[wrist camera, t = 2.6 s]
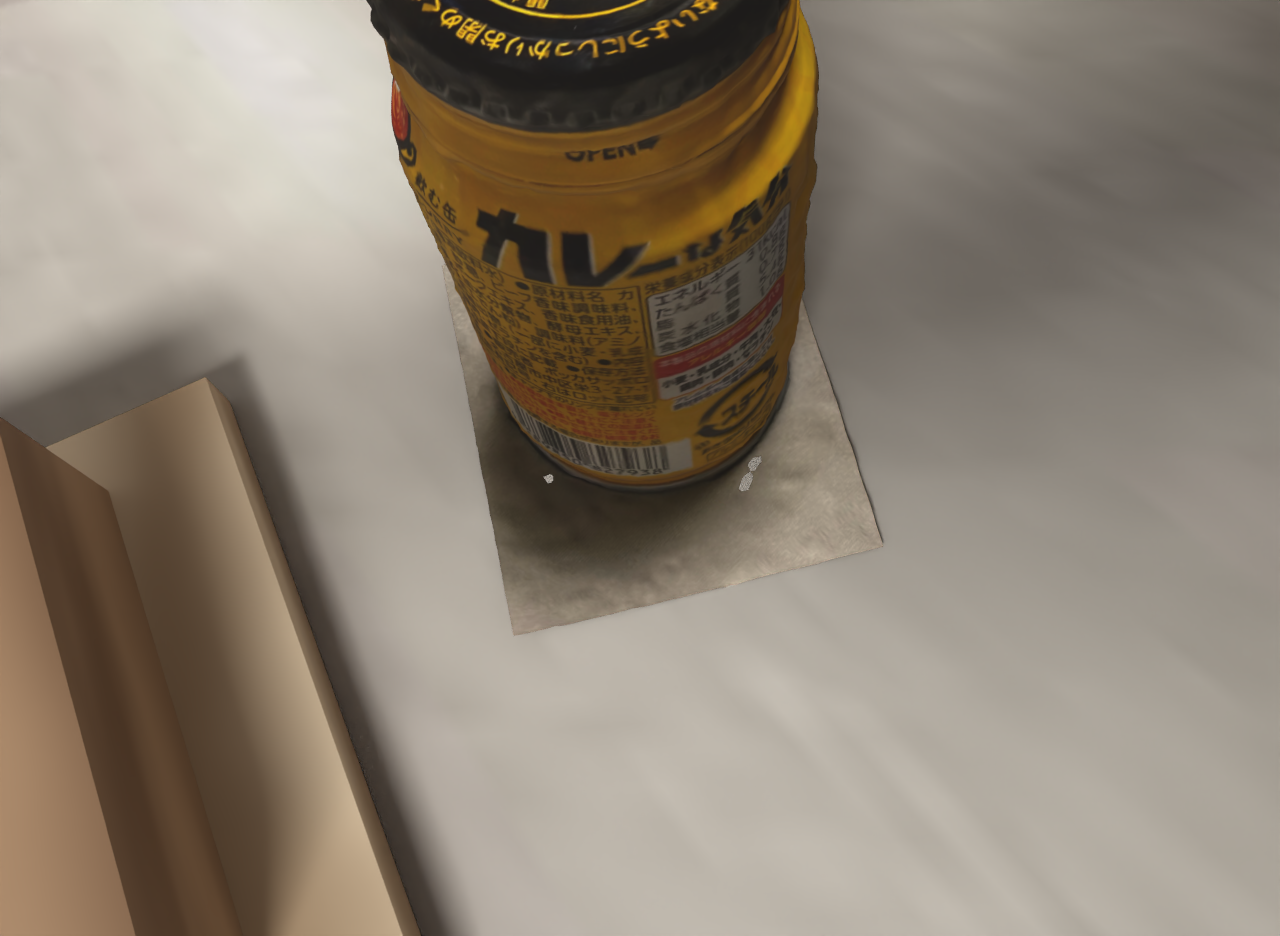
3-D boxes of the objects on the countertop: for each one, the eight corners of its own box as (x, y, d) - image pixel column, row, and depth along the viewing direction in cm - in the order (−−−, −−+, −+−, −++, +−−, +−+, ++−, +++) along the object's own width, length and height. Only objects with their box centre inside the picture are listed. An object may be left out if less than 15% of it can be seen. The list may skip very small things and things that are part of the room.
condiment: (766, 191, 26) (784, -359, 15) (882, 549, 23) (1016, 194, 12) (444, 271, 26) (217, -222, 15) (516, 639, 23) (299, 369, 12)
